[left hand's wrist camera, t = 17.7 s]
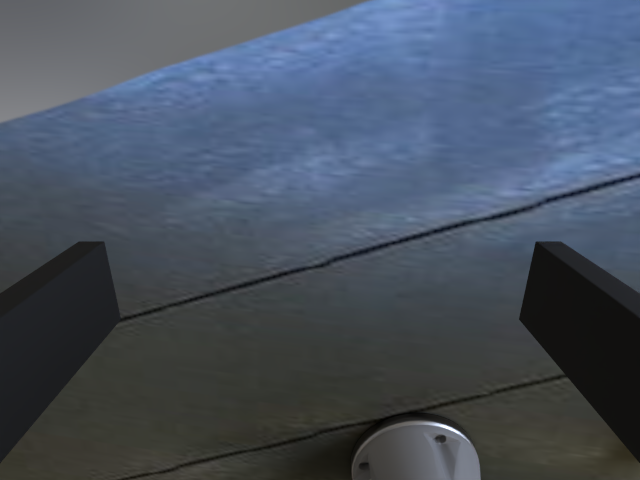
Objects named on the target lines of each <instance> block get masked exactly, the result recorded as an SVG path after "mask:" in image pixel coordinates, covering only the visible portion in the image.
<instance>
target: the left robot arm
mask: <svg viewBox="0 0 640 480" xmlns="http://www.w3.org/2000/svg"><path fill="white" fill-rule="evenodd" d="M120 320H121V317H120V313H119V308H118V303H117V299H116V294H115V290H114V285H113V280H112V276H111V271H110V266H109V262H108V257H107V253H106V248H105V243H104V242H78V243H76V244H75V245H73V246H72V247H70V248H69V249H67V250H66V251H64V252H63V253H61V254H60V255H58V256H56V257H55V258H53V259H52V260H50V261H49V262H47V263H46V264H44V265H43V266H41V267H40V268H38V269H37V270H35V271H34V272H32V273H31V274H29V275H28V276H26V277H25V278H23V279H22V280H20V281H19V282H17V283H16V284H14V285H13V286H11V287H10V288H8V289H7V290H5V291H4V292H2V293H1V294H0V463H1V461H2V460H3V459H4V458H5V457H6V455H7V454H8V453H9V452H10V451H11V449H12V448H13V447H14V446H15V445H16V444H17V442H18V441H19V440H20V439H21V438H22V436H23V435H24V434H25V433H26V432H27V430H28V429H29V428H30V427H31V426H32V424H33V423H34V422H35V421H36V420H37V419H38V417H39V416H40V415H41V414H42V413H43V411H44V410H45V409H46V408H47V407H48V405H49V404H50V403H51V402H52V401H53V400H54V398H55V397H56V396H57V395H58V394H59V392H60V391H61V390H62V389H63V388H64V386H65V385H66V384H67V383H68V382H69V380H70V379H71V378H72V377H73V376H74V375H75V373H76V372H77V371H78V370H79V369H80V367H81V366H82V365H83V364H84V363H85V361H86V360H87V359H88V358H89V357H90V355H91V354H92V353H93V352H94V351H95V350H96V348H97V347H98V346H99V345H100V344H101V342H102V341H103V340H104V339H105V338H106V336H107V335H108V334H109V333H110V332H111V330H112V329H113V328H114V327H115V326H116V325H117V323H118V322H119V321H120ZM519 320H520V321H521V322H522V323H523V325H524V326H525V327H526V328H527V329H528V330H529V332H530V333H531V334H532V335H533V336H534V338H535V339H536V340H537V341H538V342H539V344H540V345H541V346H542V347H543V348H544V350H545V351H546V352H547V353H548V354H549V355H550V357H551V358H552V359H553V360H554V361H555V363H556V364H557V365H558V366H559V367H560V369H561V370H562V371H563V372H564V373H565V375H566V376H567V377H568V378H569V379H570V380H571V382H572V383H573V384H574V385H575V386H576V388H577V389H578V390H579V391H580V392H581V394H582V395H583V396H584V397H585V398H586V400H587V401H588V402H589V403H590V404H591V405H592V407H593V408H594V409H595V410H596V411H597V413H598V414H599V415H600V416H601V417H602V419H603V420H604V421H605V422H606V423H607V425H608V426H609V427H610V428H611V429H612V430H613V432H614V433H615V434H616V435H617V436H618V438H619V439H620V440H621V441H622V442H623V444H624V445H625V446H626V447H627V448H628V449H629V451H630V452H631V453H632V454H633V455H634V457H635V458H636V459H637V460H638V461H639V463H640V294H639V293H638V292H636V291H635V290H633V289H632V288H630V287H629V286H627V285H626V284H624V283H623V282H621V281H620V280H618V279H617V278H615V277H614V276H612V275H611V274H609V273H608V272H606V271H605V270H603V269H602V268H600V267H599V266H597V265H596V264H594V263H593V262H591V261H590V260H588V259H587V258H585V257H584V256H582V255H580V254H579V253H577V252H576V251H574V250H573V249H571V248H570V247H568V246H567V245H565V244H564V243H562V242H536V243H535V248H534V253H533V257H532V262H531V266H530V271H529V276H528V280H527V285H526V290H525V294H524V299H523V303H522V308H521V313H520V317H519ZM351 471H352V480H480V465H479V459H478V455H477V453H476V450H475V448H474V445H473V443H472V441H471V439H470V437H469V435H468V434H467V433H466V432H465V431H464V430H463V429H462V428H461V427H460V426H459V425H457V424H456V423H454V422H453V421H451V420H449V419H446V418H444V417H440V416H437V415H432V414H423V413H412V414H404V415H399V416H395V417H392V418H389V419H386V420H384V421H381V422H380V423H378V424H376V425H374V426H373V427H371V428H370V429H369V430H367V431H366V432H365V433H364V434H363V435H362V436H361V437H360V439H359V440H358V441H357V443H356V445H355V447H354V449H353V452H352V456H351Z"/></svg>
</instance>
